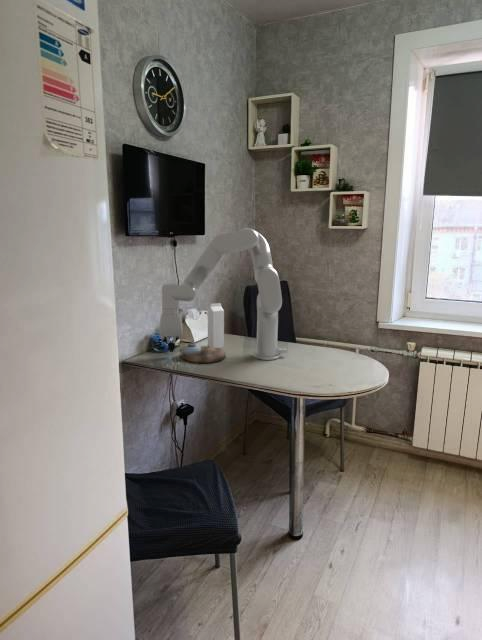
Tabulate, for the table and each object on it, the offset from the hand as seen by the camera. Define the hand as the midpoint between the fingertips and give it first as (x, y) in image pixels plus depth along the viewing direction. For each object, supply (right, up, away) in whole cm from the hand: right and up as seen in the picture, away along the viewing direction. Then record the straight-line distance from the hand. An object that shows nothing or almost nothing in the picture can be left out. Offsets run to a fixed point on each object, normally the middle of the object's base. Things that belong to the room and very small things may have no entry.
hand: (171, 351), depth 197 cm
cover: (+9, -1, +1) cm, 9 cm away
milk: (+19, 0, +19) cm, 27 cm away
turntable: (+15, -3, +2) cm, 15 cm away
